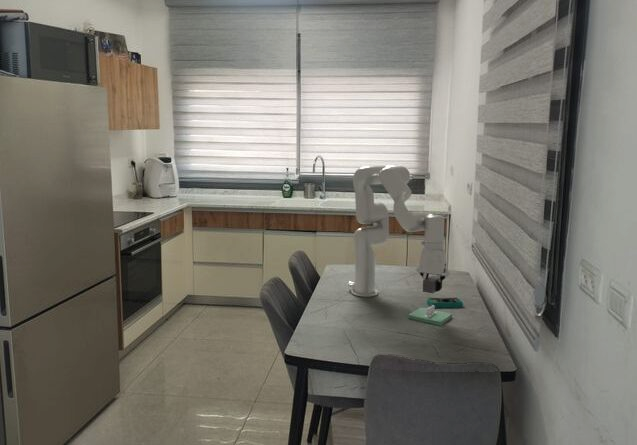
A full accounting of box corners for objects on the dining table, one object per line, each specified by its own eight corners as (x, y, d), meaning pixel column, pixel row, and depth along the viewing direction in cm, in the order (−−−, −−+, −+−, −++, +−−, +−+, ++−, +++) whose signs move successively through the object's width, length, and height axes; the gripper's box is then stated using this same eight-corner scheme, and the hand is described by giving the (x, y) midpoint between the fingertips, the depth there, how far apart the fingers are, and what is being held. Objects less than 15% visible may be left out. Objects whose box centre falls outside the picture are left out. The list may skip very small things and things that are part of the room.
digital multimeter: (464, 308, 238) (464, 302, 238) (430, 308, 237) (431, 302, 237) (458, 303, 245) (458, 296, 245) (426, 303, 244) (426, 297, 244)
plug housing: (422, 291, 219) (423, 280, 219) (432, 286, 227) (432, 275, 226) (432, 293, 217) (433, 281, 216) (442, 288, 224) (442, 276, 224)
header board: (408, 318, 224) (408, 307, 223) (420, 310, 233) (421, 300, 232) (440, 325, 216) (440, 314, 215) (451, 317, 225) (452, 306, 224)
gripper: (410, 244, 221) (409, 288, 224) (450, 249, 211) (448, 295, 214) (418, 241, 227) (417, 284, 230) (457, 246, 217) (455, 290, 220)
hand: (432, 289), depth 222 cm, fingers closed on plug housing, 4 cm apart
